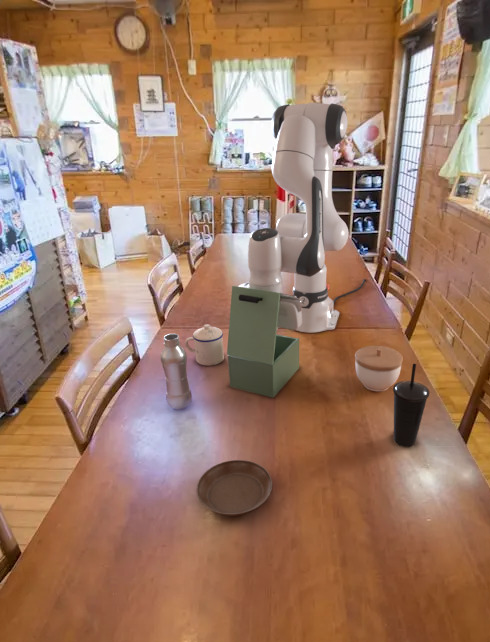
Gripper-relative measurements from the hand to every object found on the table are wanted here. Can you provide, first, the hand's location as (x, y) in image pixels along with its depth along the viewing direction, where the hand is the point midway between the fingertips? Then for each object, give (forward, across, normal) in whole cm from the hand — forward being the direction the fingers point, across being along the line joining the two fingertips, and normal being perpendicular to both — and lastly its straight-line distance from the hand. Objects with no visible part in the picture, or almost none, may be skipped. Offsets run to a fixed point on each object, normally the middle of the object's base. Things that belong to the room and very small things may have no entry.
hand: (266, 337), depth 127 cm
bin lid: (-7, 0, +7) cm, 10 cm away
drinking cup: (+12, -42, +13) cm, 46 cm away
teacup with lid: (+12, +22, -1) cm, 25 cm away
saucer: (+12, -15, +44) cm, 48 cm away
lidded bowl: (+12, -30, -8) cm, 33 cm away
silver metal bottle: (+12, +14, +23) cm, 30 cm away
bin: (+12, 0, +1) cm, 12 cm away
